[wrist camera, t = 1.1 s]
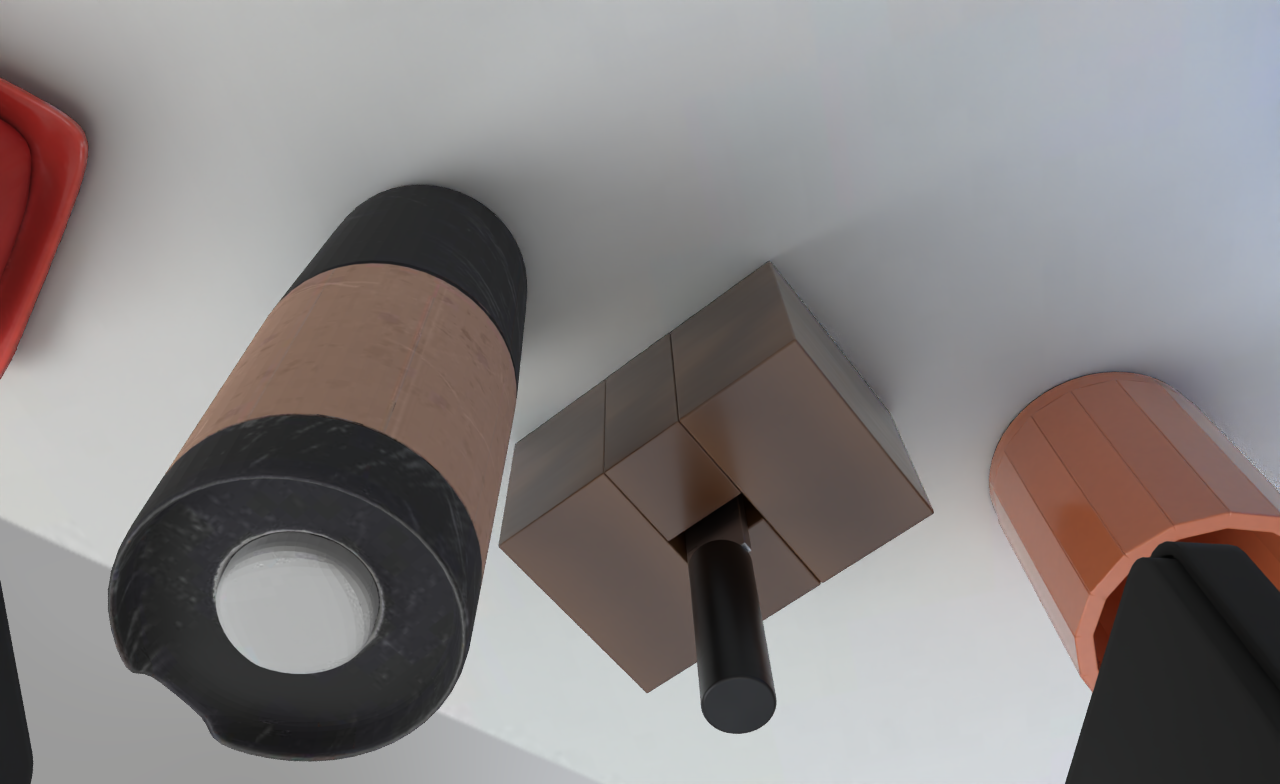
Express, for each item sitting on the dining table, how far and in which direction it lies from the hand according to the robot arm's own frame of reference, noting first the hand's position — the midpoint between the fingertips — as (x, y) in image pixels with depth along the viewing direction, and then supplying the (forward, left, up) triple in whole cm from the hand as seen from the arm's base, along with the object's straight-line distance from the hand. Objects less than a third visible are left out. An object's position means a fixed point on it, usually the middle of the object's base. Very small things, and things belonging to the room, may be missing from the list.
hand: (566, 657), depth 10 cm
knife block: (+7, +14, -32) cm, 36 cm away
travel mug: (+11, +3, -32) cm, 34 cm away
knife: (+7, +14, -32) cm, 36 cm away
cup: (-4, +25, -32) cm, 41 cm away
